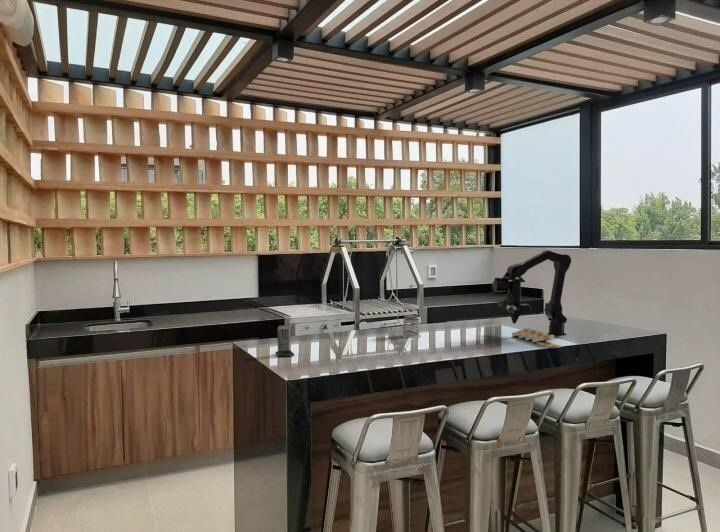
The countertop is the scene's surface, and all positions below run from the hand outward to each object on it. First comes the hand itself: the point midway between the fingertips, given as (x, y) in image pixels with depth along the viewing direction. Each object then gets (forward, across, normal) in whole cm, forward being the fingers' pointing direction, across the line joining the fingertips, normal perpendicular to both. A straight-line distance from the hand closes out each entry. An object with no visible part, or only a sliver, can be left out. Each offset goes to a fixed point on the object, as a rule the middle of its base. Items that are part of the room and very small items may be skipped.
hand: (514, 323), depth 268 cm
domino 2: (+5, +7, 0) cm, 9 cm away
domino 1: (+5, +2, 0) cm, 6 cm away
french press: (+6, -17, -48) cm, 51 cm away
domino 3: (+5, +12, 0) cm, 13 cm away
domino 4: (+5, +18, 0) cm, 19 cm away
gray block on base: (+6, +6, -114) cm, 114 cm away
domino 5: (+6, +21, 0) cm, 22 cm away
